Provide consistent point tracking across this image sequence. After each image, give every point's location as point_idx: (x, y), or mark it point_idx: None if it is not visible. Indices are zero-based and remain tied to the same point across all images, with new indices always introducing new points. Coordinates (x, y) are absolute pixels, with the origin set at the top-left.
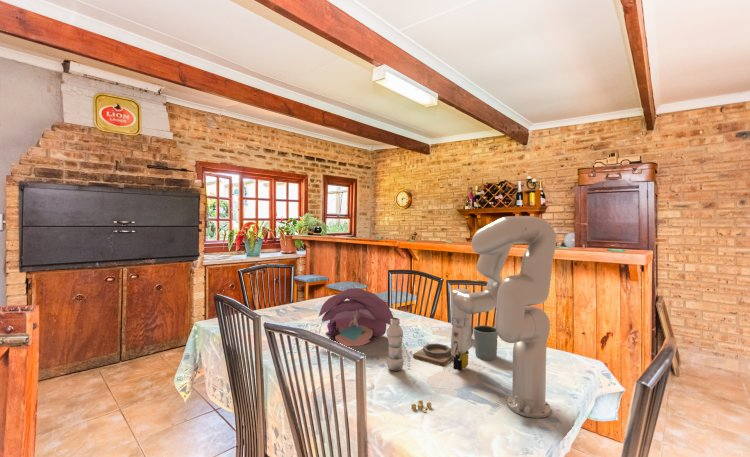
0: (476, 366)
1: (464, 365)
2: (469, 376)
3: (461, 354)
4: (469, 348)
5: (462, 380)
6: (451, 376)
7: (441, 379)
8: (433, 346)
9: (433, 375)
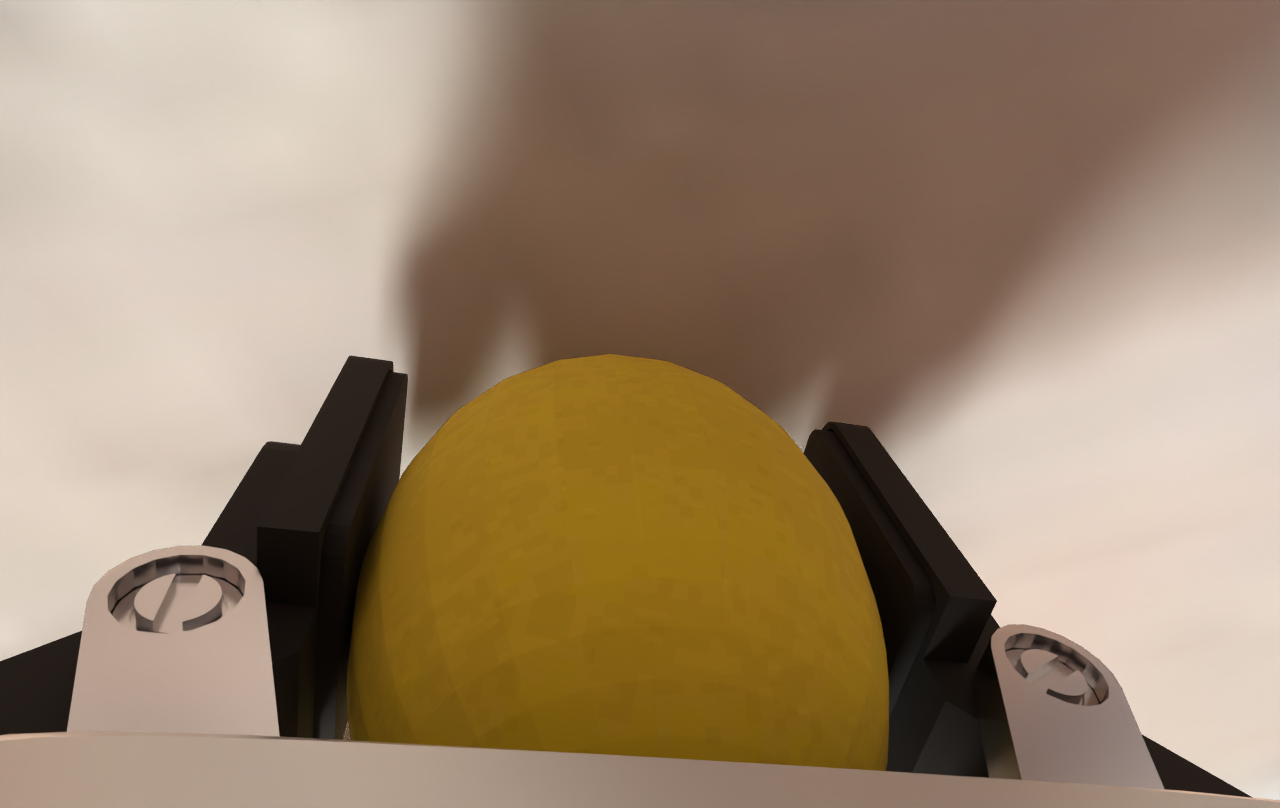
0: (102, 106)
1: (768, 418)
2: (905, 163)
3: None
4: (431, 782)
5: (1171, 274)
6: (1018, 523)
7: (1189, 631)
8: None
9: None
